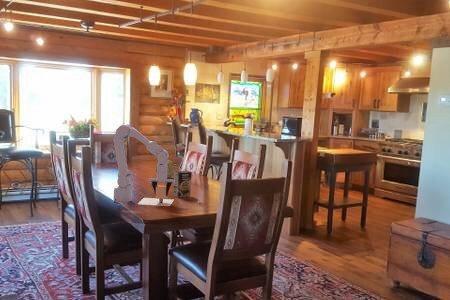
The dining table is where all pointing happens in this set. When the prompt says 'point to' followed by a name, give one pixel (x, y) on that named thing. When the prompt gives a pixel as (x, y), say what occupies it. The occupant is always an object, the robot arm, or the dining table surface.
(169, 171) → the cantaloupe
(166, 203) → the base plate
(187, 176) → the coffee box
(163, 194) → the peach cube
